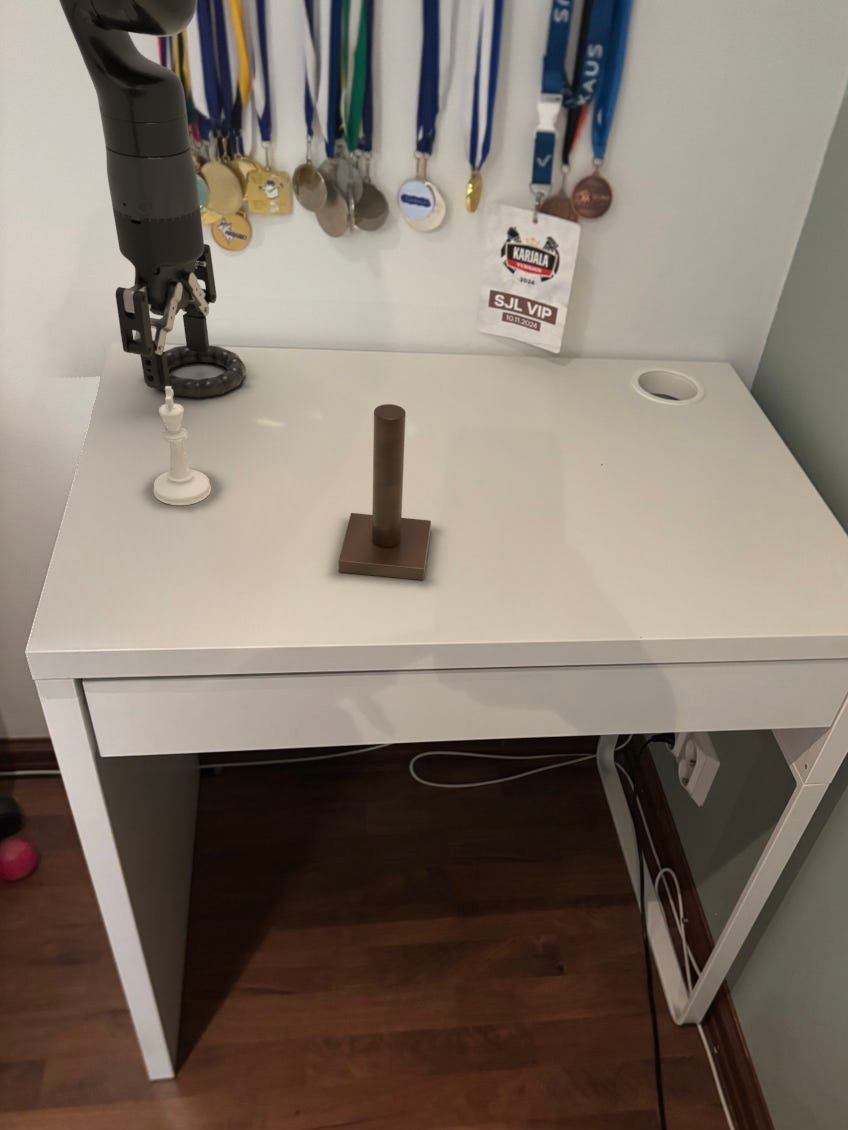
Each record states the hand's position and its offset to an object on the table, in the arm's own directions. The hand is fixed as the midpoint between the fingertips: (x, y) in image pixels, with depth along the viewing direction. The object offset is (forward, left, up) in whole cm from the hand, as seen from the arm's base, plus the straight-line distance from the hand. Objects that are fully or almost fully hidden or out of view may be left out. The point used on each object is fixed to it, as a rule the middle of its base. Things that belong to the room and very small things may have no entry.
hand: (178, 368), depth 96 cm
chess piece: (+5, -17, -3) cm, 18 cm away
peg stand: (+24, -23, -3) cm, 33 cm away
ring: (+1, +4, -2) cm, 4 cm away
